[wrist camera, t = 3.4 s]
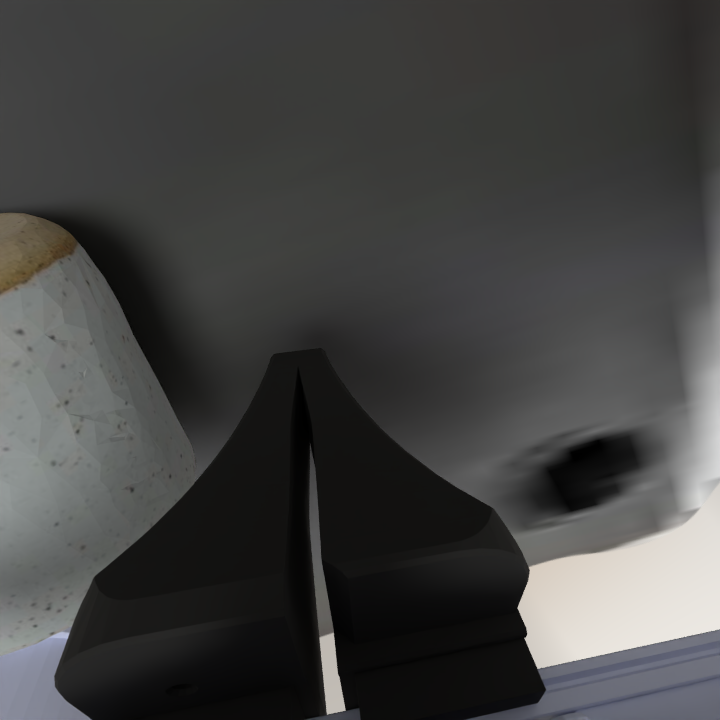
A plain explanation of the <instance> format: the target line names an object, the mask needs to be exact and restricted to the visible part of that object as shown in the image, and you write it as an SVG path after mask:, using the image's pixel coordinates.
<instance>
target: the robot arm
mask: <svg viewBox="0 0 720 720" xmlns="http://www.w3.org/2000/svg"><path fill="white" fill-rule="evenodd" d="M310 444H311V449H312V454H313V459H314V464H315V468H316V481H317V495H318V509H319V524H320V540H321V558H322V565H323V570H324V576H325V582H326V588H327V593H328V599H329V605H330V611H331V616H332V622H333V628H334V638H335V647H336V658H337V666H338V667H337V668H338V675H339V676H340V682H341V687H342V692H343V698H344V703H345V708H346V711H343V712H338V713H333V714H329V715H327V713H326V702H325V693H324V683H323V672H322V662H321V651H320V641H319V630H318V619H317V608H316V597H315V586H314V575H313V563H312V552H311V540H310V525H309V479H310ZM529 571H530V570H529V567H528V565H527V563H526V561H525V558H524V556H523V554H522V551H521V550H520V548H519V546H518V544H517V543H516V541H515V539H514V538H513V536H512V535H511V533H510V532H509V530H508V529H507V527H506V526H505V524H504V523H503V521H502V520H501V518H500V517H499V516H498V514H497V513H496V511H495V510H494V509H493V508H492V507H490V506H488V505H486V504H485V503H483V502H481V501H479V500H478V499H476V498H474V497H472V496H471V495H469V494H467V493H465V492H464V491H462V490H460V489H458V488H457V487H455V486H453V485H452V484H450V483H449V482H447V481H446V480H444V479H443V478H442V477H440V476H439V475H437V474H436V473H434V472H433V471H431V470H430V469H429V468H427V467H426V466H425V465H424V464H422V463H421V462H420V461H418V460H417V459H416V458H414V457H413V456H412V455H410V454H409V453H408V452H407V451H405V450H404V449H403V448H402V447H401V446H399V445H398V444H397V443H396V442H395V441H394V440H393V439H392V438H390V437H389V436H388V435H387V434H386V433H385V432H384V431H383V430H382V429H381V428H380V427H379V426H378V425H377V424H376V423H375V422H374V421H373V420H372V419H371V418H370V417H369V415H368V414H367V413H366V412H365V411H364V410H363V409H362V407H361V406H360V405H359V404H358V403H357V401H356V400H355V399H354V398H353V397H352V395H351V394H350V392H349V391H348V390H347V388H346V387H345V386H344V384H343V383H342V382H341V380H340V379H339V377H338V376H337V374H336V372H335V371H334V369H333V367H332V366H331V364H330V362H329V360H328V358H327V355H326V353H325V351H324V350H323V349H321V348H318V349H310V350H302V351H294V352H285V353H277V354H274V355H273V356H272V357H271V359H270V363H269V365H268V368H267V371H266V373H265V375H264V378H263V380H262V382H261V384H260V386H259V388H258V390H257V392H256V394H255V396H254V398H253V400H252V402H251V404H250V406H249V408H248V409H247V411H246V413H245V414H244V416H243V418H242V419H241V421H240V423H239V424H238V426H237V427H236V429H235V431H234V432H233V434H232V435H231V437H230V438H229V440H228V441H227V443H226V444H225V445H224V447H223V448H222V450H221V451H220V452H219V454H218V455H217V456H216V458H215V459H214V460H213V461H212V463H211V464H210V465H209V466H208V468H207V469H206V470H205V471H204V472H203V474H202V475H201V476H200V477H199V478H198V480H197V481H196V482H195V483H194V484H193V485H192V487H191V488H190V489H189V490H188V491H187V492H186V493H185V494H184V495H183V496H182V498H181V499H180V500H179V501H178V502H177V503H176V504H175V505H174V506H173V507H172V508H171V509H170V510H169V511H168V512H167V513H166V514H165V515H164V516H163V517H162V518H161V519H160V520H159V521H158V522H157V523H156V524H155V525H154V526H153V527H151V528H150V529H149V530H148V531H147V532H146V533H145V534H144V535H143V536H142V537H141V538H139V539H138V540H137V541H136V542H135V543H134V544H132V545H131V546H130V547H129V548H128V549H126V550H125V551H124V552H123V553H122V554H121V555H119V556H118V557H117V558H116V559H115V560H114V561H112V562H111V563H110V564H109V565H108V566H106V567H105V568H104V569H103V570H102V571H100V572H99V573H98V574H97V575H95V576H94V578H93V580H92V582H91V585H90V587H89V589H88V591H87V593H86V595H85V597H84V599H83V601H82V603H81V605H80V608H79V610H78V612H77V615H76V617H75V619H74V622H73V625H72V626H71V627H69V628H68V629H66V630H64V631H62V632H59V633H57V634H55V635H53V636H51V637H49V638H47V639H45V640H43V641H41V642H39V643H37V644H34V645H32V646H29V647H26V648H23V649H20V650H17V651H14V652H11V653H8V654H5V655H3V656H0V720H720V630H715V631H711V632H706V633H702V634H697V635H692V636H688V637H683V638H679V639H674V640H670V641H665V642H661V643H655V644H651V645H647V646H642V647H637V648H633V649H628V650H623V651H619V652H614V653H610V654H605V655H600V656H596V657H591V658H586V659H582V660H578V661H573V662H568V663H563V664H559V665H555V666H550V667H545V668H540V669H537V667H536V665H535V662H534V660H533V658H532V655H531V653H530V651H529V648H528V646H527V644H526V641H525V639H524V638H525V637H526V636H527V631H526V627H525V625H524V622H523V620H522V618H521V616H520V613H519V611H518V609H517V607H518V605H519V602H520V600H521V597H522V595H523V592H524V590H525V587H526V585H527V582H528V578H529Z"/></svg>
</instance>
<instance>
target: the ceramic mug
mask: <svg viewBox="0 0 720 720" xmlns="http://www.w3.org/2000/svg"><path fill="white" fill-rule="evenodd" d="M195 470H196V461H195V456H194V452H193V448H192V445H191V443H190V441H189V439H188V437H187V436H186V434H185V432H184V430H183V428H182V426H181V425H180V423H179V421H178V419H177V417H176V415H175V413H174V411H173V409H172V407H171V405H170V403H169V401H168V399H167V397H166V395H165V393H164V391H163V389H162V387H161V385H160V383H159V381H158V380H157V378H156V376H155V374H154V372H153V370H152V368H151V367H150V365H149V363H148V361H147V359H146V357H145V356H144V354H143V352H142V350H141V348H140V346H139V345H138V343H137V341H136V339H135V337H134V335H133V333H132V331H131V329H130V326H129V324H128V322H127V320H126V317H125V315H124V313H123V311H122V308H121V306H120V304H119V302H118V300H117V299H116V297H115V295H114V293H113V292H112V290H111V288H110V286H109V285H108V283H107V281H106V279H105V278H104V276H103V275H102V273H101V272H100V271H99V269H98V268H97V267H96V265H95V264H94V263H93V261H92V260H91V259H90V257H89V256H88V254H87V253H86V251H85V250H84V249H83V247H82V246H81V245H80V244H79V243H78V242H77V240H76V239H75V238H74V237H73V236H72V235H71V234H70V233H69V232H68V231H66V230H65V229H64V228H62V227H61V226H59V225H58V224H55V223H53V222H51V221H48V220H46V219H43V218H40V217H36V216H32V215H29V214H25V213H0V656H3V655H5V654H8V653H11V652H14V651H17V650H20V649H23V648H26V647H29V646H32V645H34V644H37V643H39V642H41V641H43V640H45V639H47V638H49V637H51V636H53V635H55V634H57V633H59V632H62V631H64V630H66V629H68V628H69V627H71V626H72V625H73V622H74V619H75V617H76V615H77V612H78V610H79V608H80V605H81V603H82V601H83V599H84V597H85V595H86V593H87V591H88V589H89V587H90V585H91V582H92V580H93V578H94V576H95V575H97V574H98V573H99V572H100V571H102V570H103V569H104V568H105V567H106V566H108V565H109V564H110V563H111V562H112V561H114V560H115V559H116V558H117V557H118V556H119V555H121V554H122V553H123V552H124V551H125V550H126V549H128V548H129V547H130V546H131V545H132V544H134V543H135V542H136V541H137V540H138V539H139V538H141V537H142V536H143V535H144V534H145V533H146V532H147V531H148V530H149V529H150V528H151V527H153V526H154V525H155V524H156V523H157V522H158V521H159V520H160V519H161V518H162V517H163V516H164V515H165V514H166V513H167V512H168V511H169V510H170V509H171V508H172V507H173V506H174V505H175V504H176V503H177V502H178V501H179V500H180V499H181V498H182V496H183V495H184V494H185V493H186V492H187V491H188V490H189V489H190V488H191V487H192V485H193V484H194V482H195Z"/></svg>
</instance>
